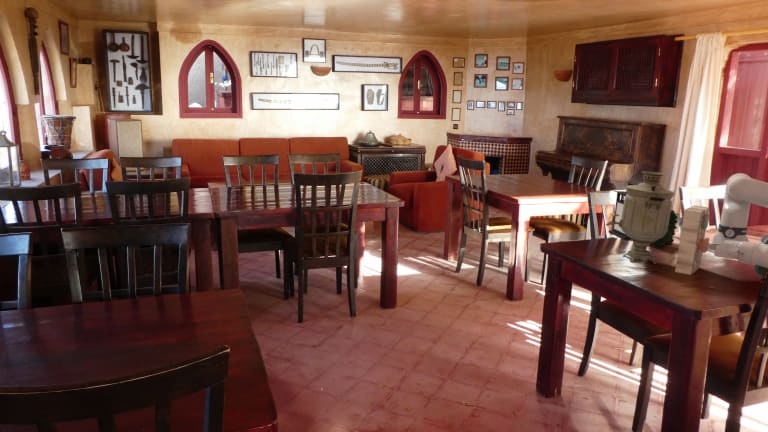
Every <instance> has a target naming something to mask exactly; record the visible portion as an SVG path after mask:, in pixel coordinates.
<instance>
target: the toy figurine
mask: <svg viewBox="0 0 768 432" xmlns="http://www.w3.org/2000/svg"><path fill="white" fill-rule="evenodd" d="M675 213H676V212H675V210H674V209H671V213H670V219H669V224H668V230H667V233H666V234H665V235H664V236H663V237H662V238H660V239H658V240H656V241H652V245H653V247H654V248H658V249H660V248H662V247H663V245H665V246H666V247H669V246H672V245H673V242H674V241H675V240H674V239H675V238H673V237H674V236H675V235H676V232H675V230H676V229H677V228H678V227H677V225H676V226H675V224H676V223H677V221H676V218H677V216H676V215H675Z"/></svg>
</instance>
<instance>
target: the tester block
mask: <svg viewBox="0 0 768 432" xmlns="http://www.w3.org/2000/svg"><path fill="white" fill-rule="evenodd" d="M683 212H684V213H683V214H684V217H683V224H682V230H681V237H680V236H679V239H680V241H679V245H678V252H677V258H676V264H675V271H674V272H675V273H679V274H684V275H689V276H691V275H692V274H694V273H695V272H697V271H698V270H700V267H701V262H702V256H703V253H701V251H702V250H698V244H699V240H700V239H705V238H706V231H707V228H706V229H701V225H702V219H703V216H704V215H706V214H709V215H710V213H709V212H710V207H708V206H700V205H692V206H690V207H688V208H685V209H684V211H683Z"/></svg>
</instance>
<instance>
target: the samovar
mask: <svg viewBox="0 0 768 432" xmlns="http://www.w3.org/2000/svg"><path fill="white" fill-rule="evenodd" d="M641 173H642V174H643V175H642V176H643V177H642V180H643V181H644V182H638V183H639V184H638V185H630V186H628V185H626V186H625V191H627V195H626V196H624V206H623V212H622V218H621V220H620V222H615V216H619V215H618V214H616V213H615V212H612V213H610V216H612V217H613V218H612V220H611V221H608V222H607V223H606V224H605V226H610V225H611V226H612V227H613V225H614V224H619V227H621V229H622V231H623V232H624V233H625V234H626V235H627V236H628V237H629V238H631V239H633V240H632V244H633V246H634V248H631V249H630V250H628V251H627V253H624V254H623V255H622V257H627V256H628V257H630V260H629V262H630V263H635V261H637V260H638V259H640V260H649V261H650V262H653V264H655V265H656V264H657V261H656V260H654V257H653V254H652V253H651V252H650V250H648V248H649V247H650V246H651V245H650V244H651V243H653V241H656V240H658V239H660V238H662V237H663V236H664V235H665V234H666V233H667V230H668V224H669V219H670V213H671V210H672V207H673V202H672V201H673V200H672V198H673V197H674V195H675V192H674V191H672V190H671V189H667V188H664V187H663V185H661V184H659V182H660V181H661V177H662V176H664V175H665V174H664V173H662V172H656V171H655V172H654V171H641Z"/></svg>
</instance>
